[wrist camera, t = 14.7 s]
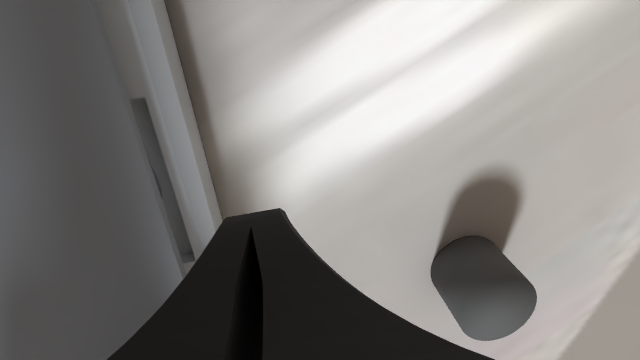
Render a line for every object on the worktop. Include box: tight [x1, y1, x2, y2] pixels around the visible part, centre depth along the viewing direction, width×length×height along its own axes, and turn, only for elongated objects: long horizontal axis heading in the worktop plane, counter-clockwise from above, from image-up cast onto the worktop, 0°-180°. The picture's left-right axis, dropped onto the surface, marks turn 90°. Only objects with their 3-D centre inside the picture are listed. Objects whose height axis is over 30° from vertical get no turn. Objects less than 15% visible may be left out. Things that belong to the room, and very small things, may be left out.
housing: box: [0, 0, 186, 360], centre depth 17 cm, size 18×11×4 cm, turn 7°
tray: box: [96, 0, 223, 275], centre depth 18 cm, size 18×11×2 cm, turn 7°
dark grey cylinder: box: [431, 236, 537, 341], centre depth 23 cm, size 4×4×4 cm
